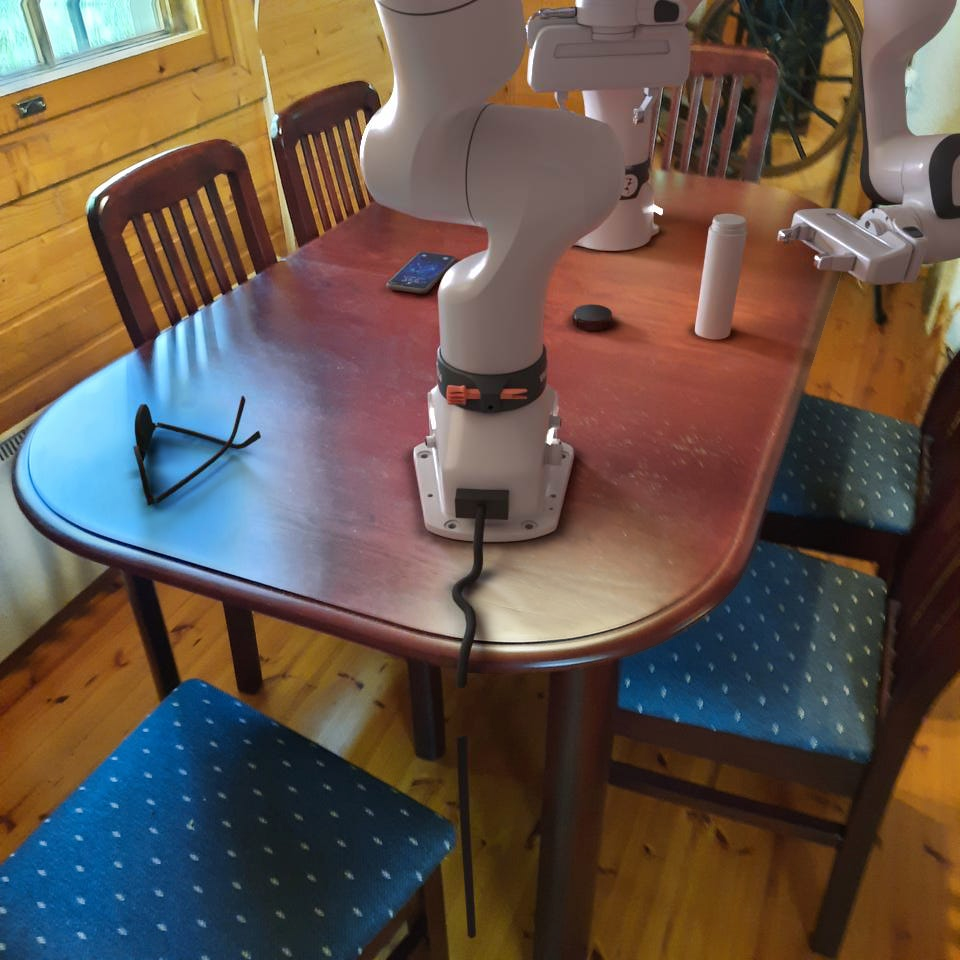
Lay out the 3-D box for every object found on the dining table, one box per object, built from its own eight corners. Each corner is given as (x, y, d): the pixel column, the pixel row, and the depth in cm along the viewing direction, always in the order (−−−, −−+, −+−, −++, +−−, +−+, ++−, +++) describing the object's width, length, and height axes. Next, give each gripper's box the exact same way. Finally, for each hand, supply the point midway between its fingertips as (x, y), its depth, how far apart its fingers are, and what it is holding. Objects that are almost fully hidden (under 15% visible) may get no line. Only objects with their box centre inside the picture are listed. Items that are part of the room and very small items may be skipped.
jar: (690, 335, 124) (706, 222, 114) (699, 321, 128) (715, 210, 118) (725, 342, 122) (744, 227, 112) (733, 327, 126) (752, 215, 116)
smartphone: (458, 255, 148) (426, 290, 136) (458, 261, 148) (426, 296, 137) (419, 250, 150) (383, 284, 138) (419, 255, 150) (384, 289, 139)
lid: (619, 321, 129) (619, 310, 128) (597, 335, 125) (598, 325, 124) (586, 310, 132) (587, 300, 131) (564, 324, 128) (565, 314, 127)
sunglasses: (270, 486, 97) (262, 449, 94) (137, 510, 94) (125, 474, 91) (257, 411, 110) (250, 377, 107) (140, 430, 107) (130, 396, 104)
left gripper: (530, 12, 100) (528, 136, 108) (701, 6, 101) (687, 128, 110) (522, 4, 105) (522, 123, 113) (686, -2, 106) (673, 115, 115)
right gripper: (846, 194, 130) (764, 203, 127) (936, 243, 114) (845, 255, 112) (836, 234, 134) (756, 243, 131) (922, 287, 118) (833, 299, 115)
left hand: (604, 125), depth 111 cm, fingers open, 8 cm apart
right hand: (798, 249), depth 121 cm, fingers open, 8 cm apart
